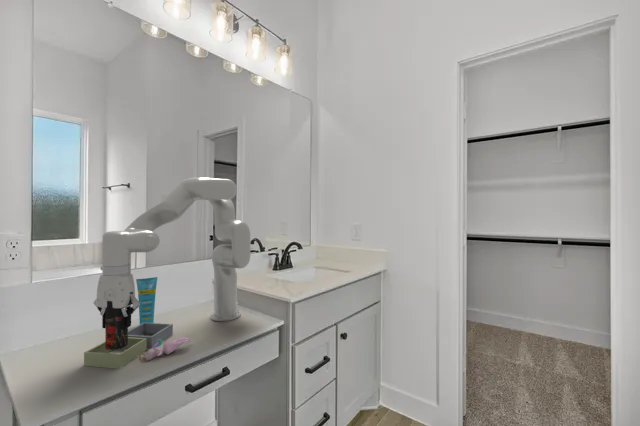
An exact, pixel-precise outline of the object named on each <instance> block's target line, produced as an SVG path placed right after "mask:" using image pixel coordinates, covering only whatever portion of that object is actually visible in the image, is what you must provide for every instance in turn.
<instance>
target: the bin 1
mask: <svg viewBox="0 0 640 426" xmlns="http://www.w3.org/2000/svg"><path fill="white" fill-rule="evenodd" d="M119 350H122V352H120V353H112V351H113V350H106V349H105V341H103V342H101V343H100V344H97V345H96V346H93V347H92V348H90V349H88V350H86V351H84V352H83V366H84V367H94V368H95V367H96V368H106V369H107V368H108V369H121V368H123V367H124V366H125V364H126V365H127V364H129V363H130V362H132V361H133V360H134V359H136V358H139V355H141V354H142V353H145V352H147V351H148V349H147V338H133V337H128V345H127V346H125V347H123V348H120V349H119ZM123 350H124V351H123ZM110 352H111V353H110ZM138 354H139V355H138ZM141 356H142V355H141Z"/></svg>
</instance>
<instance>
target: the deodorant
mask: <svg viewBox="0 0 640 426" xmlns="http://www.w3.org/2000/svg"><path fill="white" fill-rule="evenodd" d="M126 309H127V307H126ZM127 311H128V309H127ZM123 316H124V315H123V313H122V310H121V309H116V308H113V304H112V301H107V307H106V308H105V328H104V329H105V332H104V334H105V341H104V342H105V349H106V350H112V351H115V350H121V349H120V348H123V347H125V346H127V345H128V331H129V327H128V328H126V329H122V317H123Z"/></svg>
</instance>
